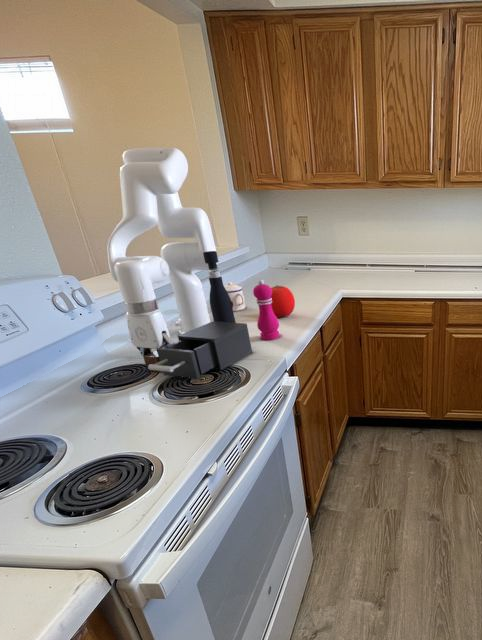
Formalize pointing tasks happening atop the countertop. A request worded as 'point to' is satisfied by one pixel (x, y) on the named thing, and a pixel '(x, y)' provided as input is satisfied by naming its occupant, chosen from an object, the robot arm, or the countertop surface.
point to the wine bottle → (218, 291)
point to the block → (152, 359)
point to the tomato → (282, 301)
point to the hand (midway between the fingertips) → (160, 366)
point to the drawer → (186, 358)
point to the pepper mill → (266, 312)
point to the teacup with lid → (235, 296)
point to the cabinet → (223, 341)
